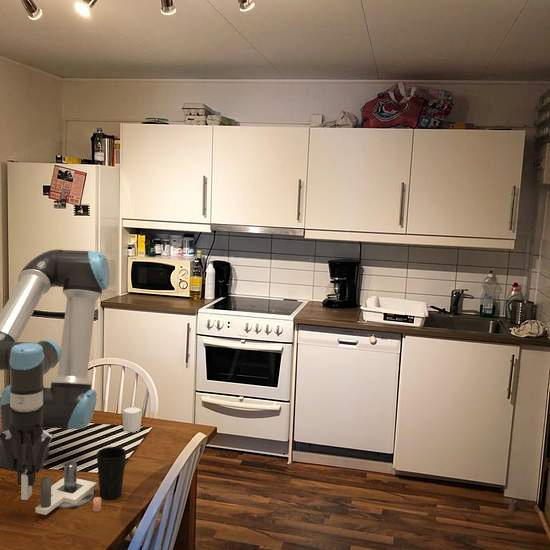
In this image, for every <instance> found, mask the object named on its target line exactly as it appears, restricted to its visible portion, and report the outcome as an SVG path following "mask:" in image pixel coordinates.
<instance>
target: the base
mask: <svg viewBox="0 0 550 550" xmlns="http://www.w3.org/2000/svg"><path fill="white" fill-rule="evenodd" d="M63 465H64V466H63V478H64V489H63V490H62V491H63V492H67V493H72V494H73V493H74V492H76V491H77V490H78V489H80V488H77V479H78V477H77V475H78V472H77V471H78V463H77V462H75V461H68V462H65V463H64V464H63ZM94 491H95V489H94V490H93V491H92V492H90V493H89V494H88V495H86V496H85V497H84V498H83V499H81V500H80V501H79V502H77V503H76V504H71V503H67V502H62V503H61V504H60V505H58V506H57V507H56V508H59V509H71V508H76V507H77V508H78V507H80V506H83V505H85V504H88V502H90V501H91V500H93V498H94Z"/></svg>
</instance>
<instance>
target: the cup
mask: <svg viewBox="0 0 550 550" xmlns="http://www.w3.org/2000/svg"><path fill="white" fill-rule="evenodd" d="M126 457H127V451H126V449H124V448H122V447H121V446H120V447H118V446H107V447H104V448H101V449H99V450H98V451H97V453H96V461H97V473H98V475H97V477H98V485H99V488H98V489H99V497H101V499H102V500H107V501H111V500H116V499H118V498H120V497H121V496H122V491H123V490H122V489H123V484H124V483H123V482H124V473H125V465H126Z"/></svg>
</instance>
